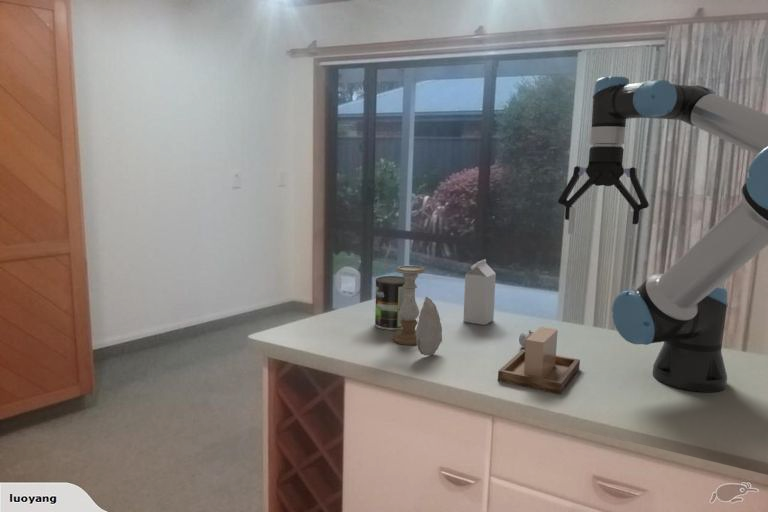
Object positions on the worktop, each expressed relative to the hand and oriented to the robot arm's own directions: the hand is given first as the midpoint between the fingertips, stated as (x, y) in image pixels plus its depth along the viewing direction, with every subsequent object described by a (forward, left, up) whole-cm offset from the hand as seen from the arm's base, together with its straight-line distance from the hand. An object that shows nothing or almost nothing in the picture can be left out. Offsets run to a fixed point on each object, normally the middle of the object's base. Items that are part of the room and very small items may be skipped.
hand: (599, 235), depth 139 cm
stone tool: (+36, +18, -32) cm, 51 cm away
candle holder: (+46, +10, -32) cm, 57 cm away
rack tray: (+8, +16, -32) cm, 36 cm away
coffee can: (+57, 0, -32) cm, 65 cm away
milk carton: (+37, -19, -32) cm, 52 cm away
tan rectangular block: (+8, +16, -31) cm, 36 cm away
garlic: (+16, -2, -32) cm, 36 cm away
